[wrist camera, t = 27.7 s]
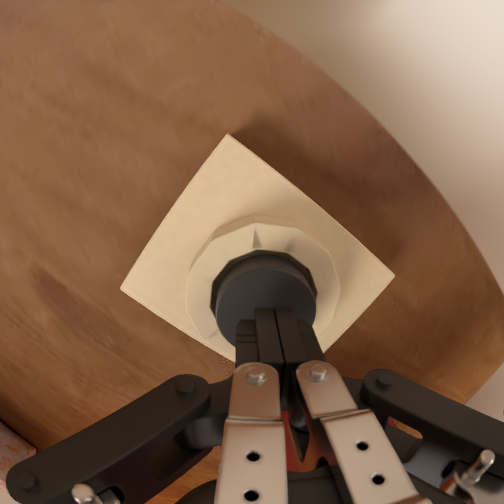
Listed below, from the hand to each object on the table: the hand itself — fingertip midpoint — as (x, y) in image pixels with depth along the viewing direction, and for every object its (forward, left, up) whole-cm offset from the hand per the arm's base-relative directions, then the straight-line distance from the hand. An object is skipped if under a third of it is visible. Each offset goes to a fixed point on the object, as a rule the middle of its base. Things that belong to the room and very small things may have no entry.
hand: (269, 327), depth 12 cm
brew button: (0, 0, -3) cm, 3 cm away
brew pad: (0, 0, -6) cm, 6 cm away
